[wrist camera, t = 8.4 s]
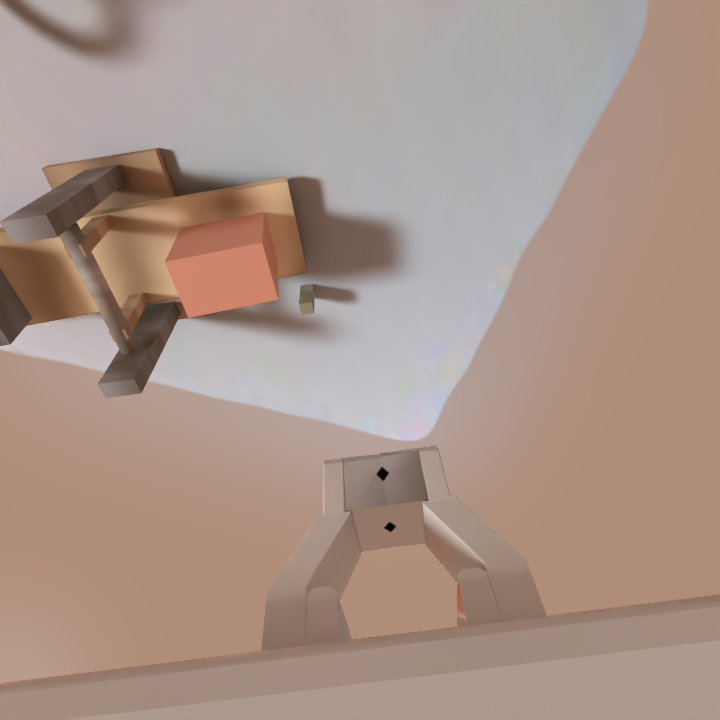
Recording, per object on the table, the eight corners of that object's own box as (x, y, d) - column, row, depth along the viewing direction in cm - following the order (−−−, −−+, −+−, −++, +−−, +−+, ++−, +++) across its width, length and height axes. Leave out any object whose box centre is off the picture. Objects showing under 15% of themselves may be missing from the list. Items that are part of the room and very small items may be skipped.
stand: (126, 322, 40) (68, 409, 31) (47, 165, 33) (-60, 220, 24) (314, 294, 40) (311, 374, 31) (279, 129, 32) (261, 170, 23)
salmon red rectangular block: (200, 278, 35) (188, 317, 31) (180, 228, 33) (164, 262, 28) (277, 263, 36) (278, 299, 31) (263, 212, 33) (262, 242, 29)
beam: (-16, 337, 37) (-66, 390, 31) (-95, 230, 32) (-170, 271, 26) (308, 276, 38) (314, 317, 33) (283, 163, 33) (285, 189, 27)
